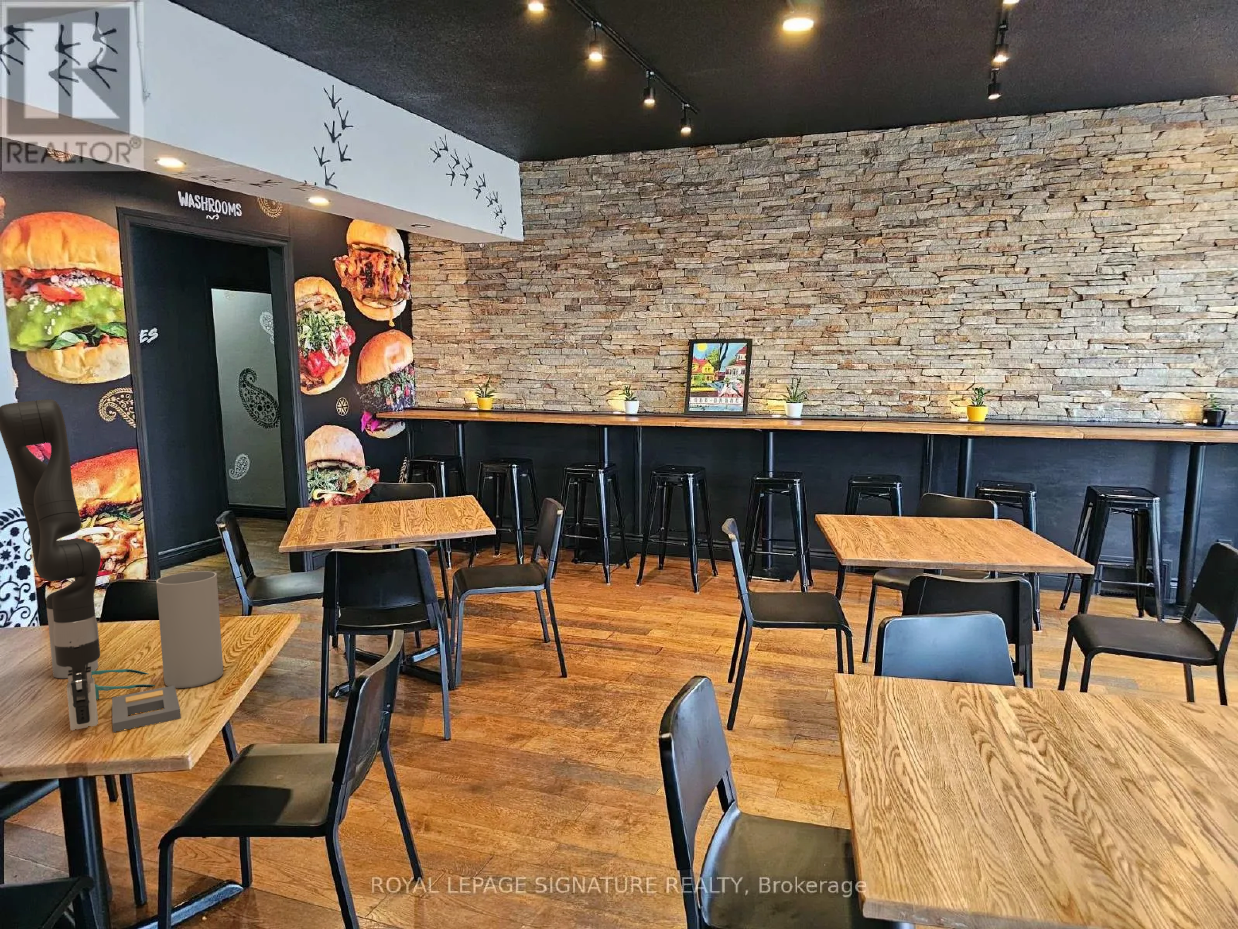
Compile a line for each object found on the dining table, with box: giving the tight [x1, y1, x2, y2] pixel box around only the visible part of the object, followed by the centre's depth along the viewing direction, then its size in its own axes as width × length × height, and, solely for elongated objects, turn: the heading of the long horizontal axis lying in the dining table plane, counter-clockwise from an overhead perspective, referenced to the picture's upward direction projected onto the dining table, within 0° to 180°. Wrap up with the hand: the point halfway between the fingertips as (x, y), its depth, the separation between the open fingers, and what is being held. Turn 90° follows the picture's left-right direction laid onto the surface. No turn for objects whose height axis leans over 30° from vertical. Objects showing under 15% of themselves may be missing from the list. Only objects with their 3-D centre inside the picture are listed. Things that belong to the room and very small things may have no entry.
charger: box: [66, 677, 99, 731], centre depth 161 cm, size 4×5×9 cm
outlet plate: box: [111, 685, 182, 733], centre depth 167 cm, size 16×12×2 cm
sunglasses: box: [91, 668, 156, 701], centre depth 181 cm, size 14×15×5 cm
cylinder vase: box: [155, 570, 224, 689], centre depth 184 cm, size 12×12×25 cm
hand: (83, 717), depth 161 cm, fingers open, 5 cm apart
